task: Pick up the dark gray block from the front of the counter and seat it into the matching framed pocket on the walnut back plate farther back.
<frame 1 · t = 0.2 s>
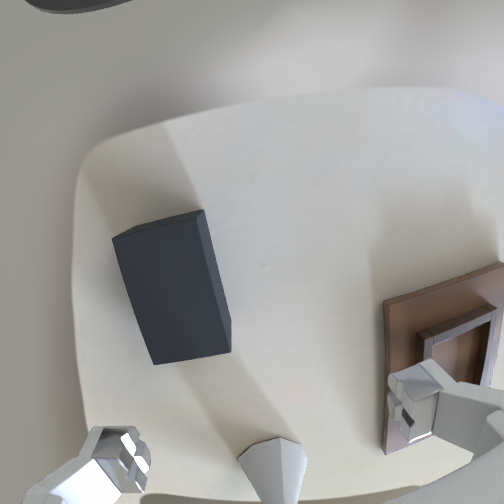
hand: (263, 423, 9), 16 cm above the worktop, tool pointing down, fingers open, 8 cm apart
flask: (272, 457, 29), on the worktop
dark gray block: (183, 275, 24), on the worktop
back plate: (445, 365, 28), on the worktop
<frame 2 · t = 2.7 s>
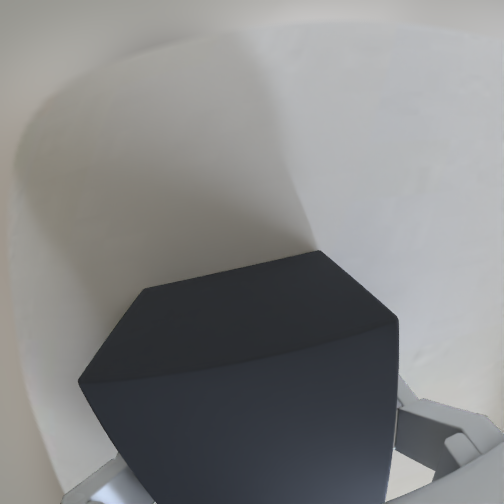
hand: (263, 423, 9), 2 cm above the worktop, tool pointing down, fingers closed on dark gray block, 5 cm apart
dark gray block: (260, 390, 11), on the worktop, touching gripper
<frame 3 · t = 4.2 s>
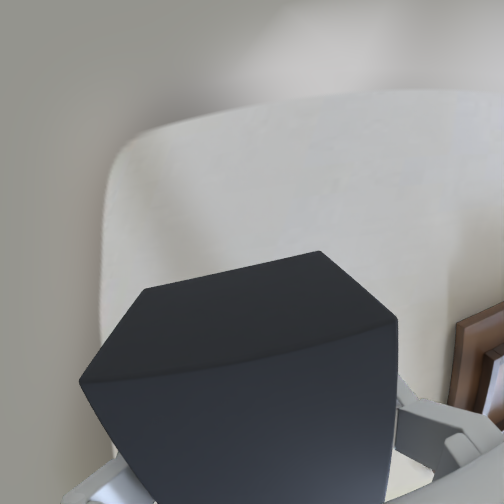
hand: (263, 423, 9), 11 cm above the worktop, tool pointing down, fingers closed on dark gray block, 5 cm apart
dark gray block: (260, 390, 11), point 9 cm above the worktop, touching gripper
back plate: (499, 382, 23), on the worktop
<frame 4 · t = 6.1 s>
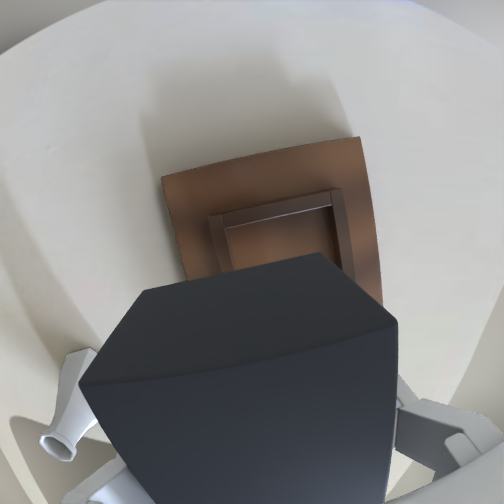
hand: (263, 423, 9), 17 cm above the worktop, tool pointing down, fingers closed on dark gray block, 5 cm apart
flask: (94, 378, 27), on the worktop
dark gray block: (260, 391, 10), point 15 cm above the worktop, touching gripper
back plate: (288, 279, 26), on the worktop
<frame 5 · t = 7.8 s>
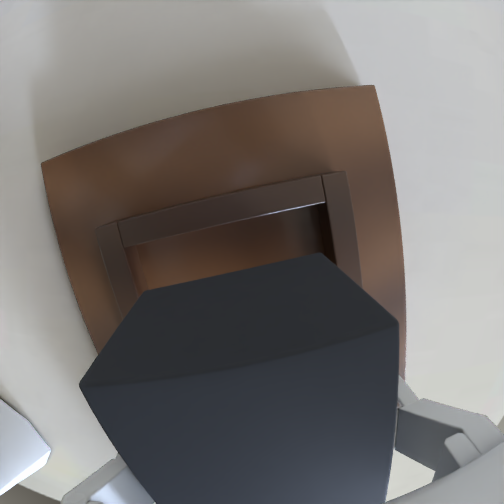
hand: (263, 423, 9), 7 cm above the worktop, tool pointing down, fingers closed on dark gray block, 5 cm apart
flask: (13, 429, 16), on the worktop
dark gray block: (260, 391, 10), point 5 cm above the worktop, touching gripper
back plate: (251, 329, 15), on the worktop
when the fingers open (3 cm above the worktop, at t = 9.4 s): dark gray block stays where it is, resting on back plate.
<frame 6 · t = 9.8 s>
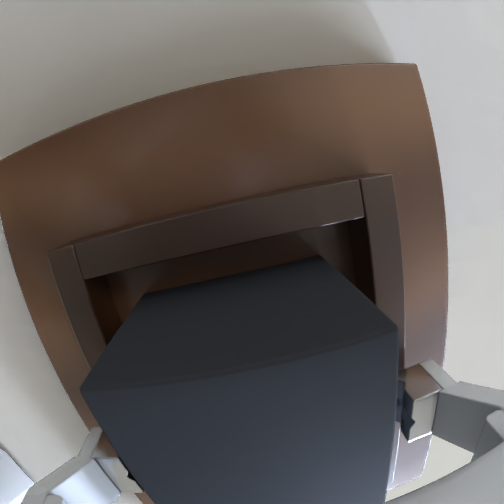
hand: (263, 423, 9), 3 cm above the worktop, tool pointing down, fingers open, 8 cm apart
dark gray block: (260, 394, 10), point 1 cm above the worktop, touching back plate
back plate: (256, 373, 12), on the worktop
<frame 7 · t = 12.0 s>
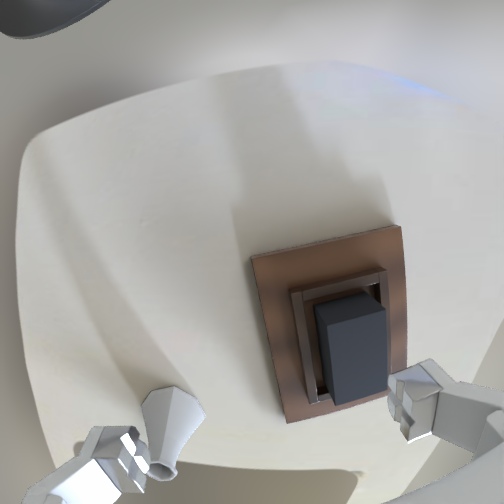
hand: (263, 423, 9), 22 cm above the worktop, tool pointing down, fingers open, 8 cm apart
flask: (173, 409, 34), on the worktop
dark gray block: (344, 337, 31), point 1 cm above the worktop, touching back plate
back plate: (340, 331, 32), on the worktop
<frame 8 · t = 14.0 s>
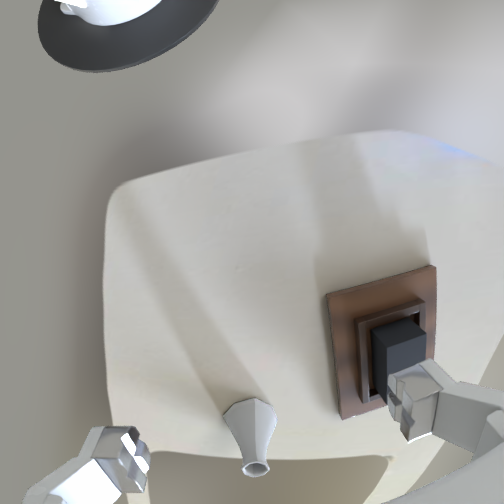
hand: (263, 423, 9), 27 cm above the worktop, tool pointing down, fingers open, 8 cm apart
flask: (250, 416, 41), on the worktop
dark gray block: (390, 351, 38), point 1 cm above the worktop, touching back plate
back plate: (386, 347, 39), on the worktop
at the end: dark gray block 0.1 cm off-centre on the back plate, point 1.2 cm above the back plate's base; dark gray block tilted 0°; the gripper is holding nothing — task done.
